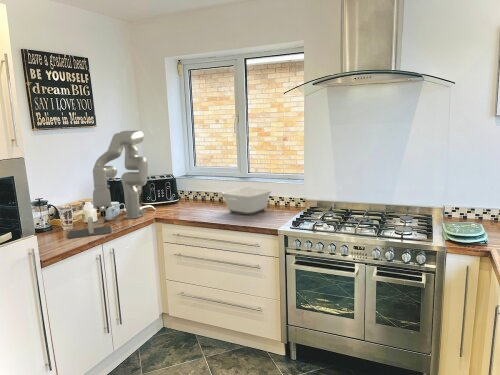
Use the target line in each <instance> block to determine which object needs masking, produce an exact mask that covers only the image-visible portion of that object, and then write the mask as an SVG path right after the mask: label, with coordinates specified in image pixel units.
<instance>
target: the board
mask: <svg viewBox="0 0 500 375" xmlns="http://www.w3.org/2000/svg"><path fill="white" fill-rule="evenodd" d="M94 228H95V227H94V219H93V216H88V217H87V229H89V234H92V233H94Z"/></svg>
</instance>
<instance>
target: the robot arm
mask: <svg viewBox="0 0 500 375" xmlns="http://www.w3.org/2000/svg"><path fill="white" fill-rule="evenodd" d="M144 139H145V136H144V133H143V132H142V131H141V130H135V129H134V130H123V131H122V130H121V131H120V132H116V133H114V134H113V135H112V138H111V140H110V143H109V146H108V148H107V150H106V151H105V152H104V153H103V154H101V155H100V156H99V157H98V158H97V159H96V161H95V163H94V165H93V168H92V177H93V178H92V179H93V191H92V202H93V203H92V204H93V206H92V208H93V209H95V210H98V211H99V213H100V217H101V218H102V219H103V218H106V216H107V214H106V213H107V212H106V211H107V210H108V209H109V208H112V199H111V198H112V197H111V192H110V189H109V188H110V187H111V185H109V184H108V179H112V178H115V177H116V176H117V175H118V170H117V167H115V166H114V165H106V164H108V163H110V162H111V161H114V160H117V159H118V158H120V157H121V155H122V152H123V150H124V169H126V170H128V171H127V172H123V174H121V177H120V179H121V184H122V188H123V194H124V196H123V197H124V207H125V214H124V216H123V218H124V219H128V220H129V219H130V220H131V219H137V218H141V217H143V216H144V215H143V214H147V213H148V211H147V209H146V210H145V209H141V207H140V206H141V205H140V194H139V190H138V188H137V187H143V186H145V185H146V184H147V182H148V170H149V161H148V159H147V157H145V156H141V155H140V156H139V149H138V147H137V146H136V145H138V144H141V143H142V142H143V141H144ZM137 171H138V172H137ZM102 207H103V208H102Z"/></svg>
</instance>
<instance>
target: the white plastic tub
mask: <svg viewBox="0 0 500 375" xmlns="http://www.w3.org/2000/svg"><path fill="white" fill-rule="evenodd" d="M271 192H272V189H269V188H262V187H251V186H249V187H248V186H247V187H245V186H243V187H238V188H234V189H233V188H232V189H230V190H226V191H222V192H221V194H222V196H223V198H224V202H225V205H226V207H227V208H226V209H228V210H229V211H230V212H231V213H234V214H240V215H247V216H250V215H254V214H256V213H259V212H262V211H264V210H265V209H267V208H268V203H269V198H270V195H271Z"/></svg>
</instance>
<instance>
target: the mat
mask: <svg viewBox="0 0 500 375" xmlns="http://www.w3.org/2000/svg"><path fill="white" fill-rule="evenodd" d="M108 234H112V229H111V225H107V226H97V227H94V233H92V234H89V229H88V228H84V229H83V228H82V229H74V230H69V231H68V234H67V238H66V239H67V240H69V239H76V238H77V239H79V238H85V237H93V236H100V235H108Z"/></svg>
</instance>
